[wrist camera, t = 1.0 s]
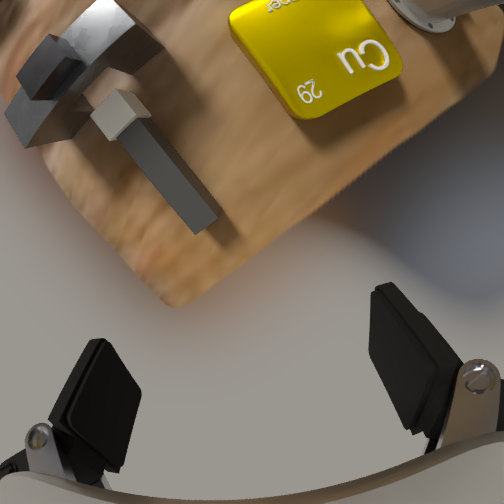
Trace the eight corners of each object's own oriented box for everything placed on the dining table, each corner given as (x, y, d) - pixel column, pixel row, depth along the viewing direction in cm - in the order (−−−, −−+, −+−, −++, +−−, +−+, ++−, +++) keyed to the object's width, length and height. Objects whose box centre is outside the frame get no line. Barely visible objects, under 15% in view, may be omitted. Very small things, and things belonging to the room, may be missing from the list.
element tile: (326, -18, 21) (336, -34, 17) (393, 75, 26) (412, 70, 22) (222, 28, 24) (218, 14, 20) (296, 126, 30) (304, 126, 25)
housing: (138, 19, 23) (91, -18, 11) (164, 47, 25) (122, 12, 13) (50, 109, 26) (-14, 115, 15) (71, 139, 29) (6, 153, 17)
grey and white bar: (133, 92, 27) (115, 88, 22) (224, 205, 33) (220, 219, 29) (109, 115, 28) (89, 115, 23) (198, 224, 34) (191, 240, 30)
